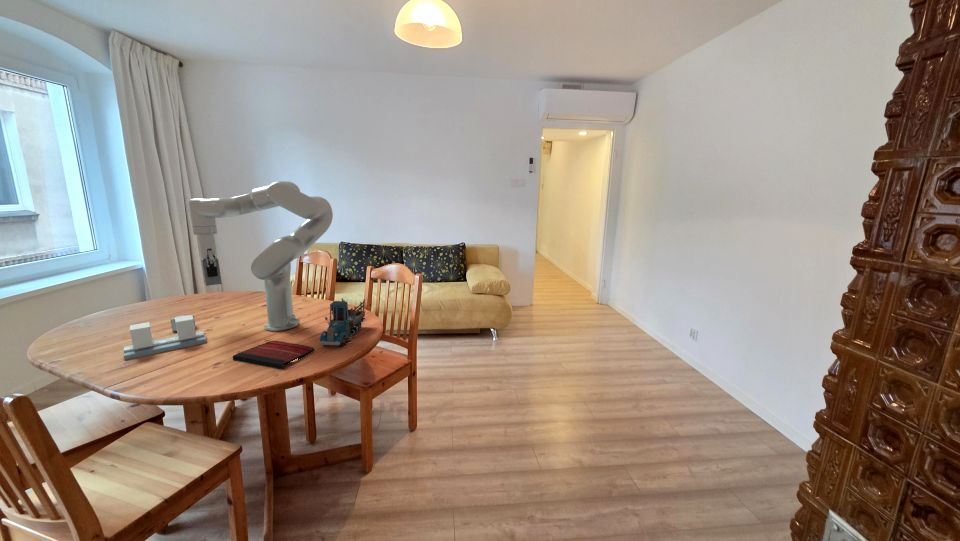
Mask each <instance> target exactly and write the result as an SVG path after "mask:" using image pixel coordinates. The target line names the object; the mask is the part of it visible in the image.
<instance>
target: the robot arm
mask: <svg viewBox="0 0 960 541" xmlns="http://www.w3.org/2000/svg"><path fill="white" fill-rule="evenodd" d="M277 207H280V208H283V209H284V210H287V212H290V213H292V214H294V215H295V216H298V217H301V218H303V219H305V221H303V222H302V223H301V224H300V225H299V226H298V227H297V228H295V230H293V231H292V232H291V233H289V234H287V235H285V236H282V237H280V238H277V239H275V240H274V241H273V242H272V243H271V244H269V245H268V246H267V247H266V248H265V249H264V250H262V252H260V254H258V256H256V257H255V258H254V259H253V261H252V263H251V267H250V271H251V274H252V275H253V277H255V278H256V279H258V280H261V281H263V283H264V295H265V296H264V297H265V303H266V304H265V305H266V312H267V313H266V315H267V322H266V323H265V324H264V330H267V331H271V332H280V331H287V330H290V329H292V328H295V327H296V326H298V325H299V323H301V319H300V318H296V314H294V308H293V307H294V306H293V296H292V285H291V283H292V282H291V268H292V262H293V261H294V260H296V259H299V258H300V257H302V256H303V255H304V254H305V253H306V252H307V251H308V250H309V249H310V248H311V247H312V246H313V245H314V244H315V243H316V242H317V241H319V239H320V238H322V236H323V235H324V234H325V233H326V232H327V231H328V230H329V228H330V227H331V224H332V222H333V217H334V216H333V215H334V213H333V208H332V205H331V204H330V202H329V201H328V200H327V199H326V198H324V197H322V196H309V195H307V194H305V193H303V192H301V189H300V188H299V186H298V185H297V184H295V183H294V182H291V181H287V180H286V181H284V180H283V181H281V180H278V181H273V182H272V183H271V184H270V185H265V186H260V187H256V188H253V189H252V190H251V191H250V192H249V193H248V192H247V193H245V194H242V195H236V196H232V197H218V198H217V197H215V198H207V197H206V198H204V197H202V198H191V199H189V200H188V208H189V213H190V219H191V226H192V233H193V235H194V236H196V240H197V248H198V249H197V250H198V257H199V259H200V261H201V260H204V259H206V263H207V267H206V268H207V274H208V277H215V276H218V273H217V266H216V263H215V259H216V258H217V259H218V257H217V247H216V245H217V244H216V240H215V235H216V234H217V235H218V231H217V230H218V229H217V221H216V219H223V218H232V217H238V216H242V215H246V214H251V213H255V212H262V211H264V210H269V209H273V208H277ZM207 258H209V259H207ZM208 261H209V262H208Z"/></svg>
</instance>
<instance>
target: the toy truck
mask: <svg viewBox="0 0 960 541" xmlns="http://www.w3.org/2000/svg"><path fill="white" fill-rule="evenodd" d="M365 302H366V298H364V299H363V301H360V302H359V305H358V306H354V307H351V308H350V309H349V307H348V301H345V300H344V298H343V297H342V298H341V301H340V300H335V301H332V302H331V303H330V304H329V320H328V317H327V316H324V320H325V321H327V322H326V323H327V324H328V327H327V330H323V331H322V332H321V333H320V336H319V345H322V346H323V347H325V346H326V347H327V346H336V347H337V346H339V348H342V347H343V346H347V344H349V343H348V342H351V343H352V341H351V340H349V338H352V337H353V336H354V335H355V334H356V333H357V332H358V331H360V330H361V329H360V328H362V323H364V320H365V319H366V317H365V316H366V310H365V305H366V303H365ZM359 329H360V330H359ZM345 338H346V339H348V340H345Z"/></svg>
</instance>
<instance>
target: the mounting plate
mask: <svg viewBox="0 0 960 541" xmlns="http://www.w3.org/2000/svg"><path fill="white" fill-rule="evenodd" d="M195 332H196V333H198V332H203V330H200V331H195ZM173 337H178V335H174V336H171V337H164V338H160V339H155V340H153V341H158V340H163V339H168V338H173ZM206 343H207V339H206V337H205V335H204V336H203V337H199V338H194V339H189V340H184V341H179V342H174V343H169V344H164V345H159V346H154V347H149V348H144V349H139V350H134V351H130V352H125V353H124V352H123V359H124V361H126V360H131V359H136V358H141V357H145V356H150V355H155V354H160V353H164V352H168V351H172V350H173V351H174V350H178V349H179V350H180V349H182V348H187V347H192V346H196V345H201V344H206ZM132 345H133V344H130V345H124V347H127V346H132Z"/></svg>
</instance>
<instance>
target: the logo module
mask: <svg viewBox="0 0 960 541" xmlns="http://www.w3.org/2000/svg"><path fill="white" fill-rule="evenodd" d="M207 259H209V258H207ZM208 262H209V261H208ZM200 263H201V271H202V278H203V283H204V285H205V286H206V287H208V286H216V285H217V286H218V285H222V284H223V283H222V279H221V271H220V270H221V269H220V263H219V259H218V257H217V258H216V259H215V263H216V266H217V273H218V276H215V277H208V274H207V268H206V267H207V263H206V259H204V260H201V259H200Z"/></svg>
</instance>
